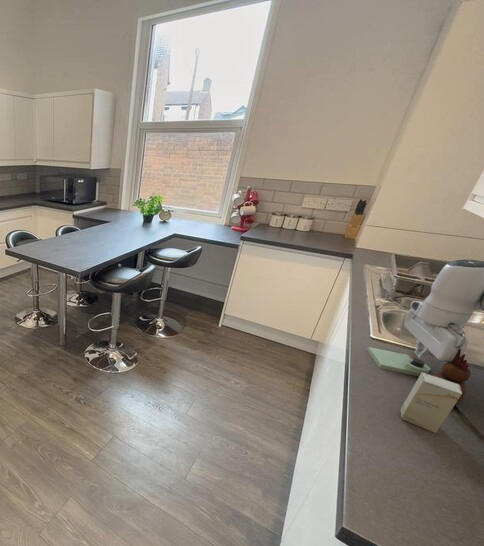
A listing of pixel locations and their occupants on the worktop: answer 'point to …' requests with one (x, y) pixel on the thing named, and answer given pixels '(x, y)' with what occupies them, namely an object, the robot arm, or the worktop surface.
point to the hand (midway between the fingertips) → (420, 356)
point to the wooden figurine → (456, 372)
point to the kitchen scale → (396, 362)
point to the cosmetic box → (430, 402)
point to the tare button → (417, 363)
